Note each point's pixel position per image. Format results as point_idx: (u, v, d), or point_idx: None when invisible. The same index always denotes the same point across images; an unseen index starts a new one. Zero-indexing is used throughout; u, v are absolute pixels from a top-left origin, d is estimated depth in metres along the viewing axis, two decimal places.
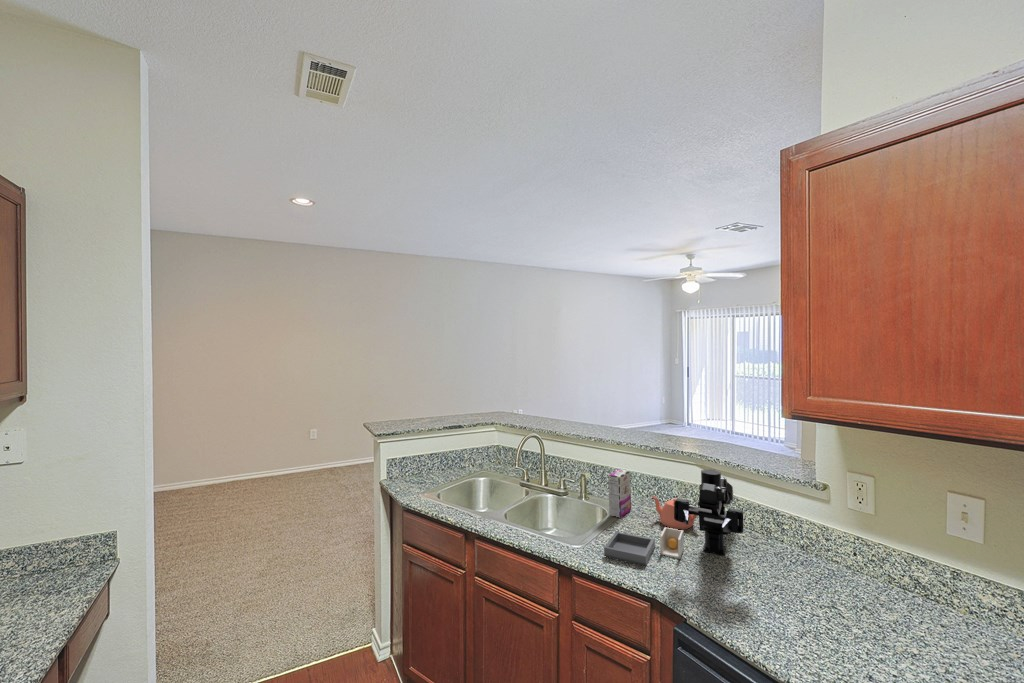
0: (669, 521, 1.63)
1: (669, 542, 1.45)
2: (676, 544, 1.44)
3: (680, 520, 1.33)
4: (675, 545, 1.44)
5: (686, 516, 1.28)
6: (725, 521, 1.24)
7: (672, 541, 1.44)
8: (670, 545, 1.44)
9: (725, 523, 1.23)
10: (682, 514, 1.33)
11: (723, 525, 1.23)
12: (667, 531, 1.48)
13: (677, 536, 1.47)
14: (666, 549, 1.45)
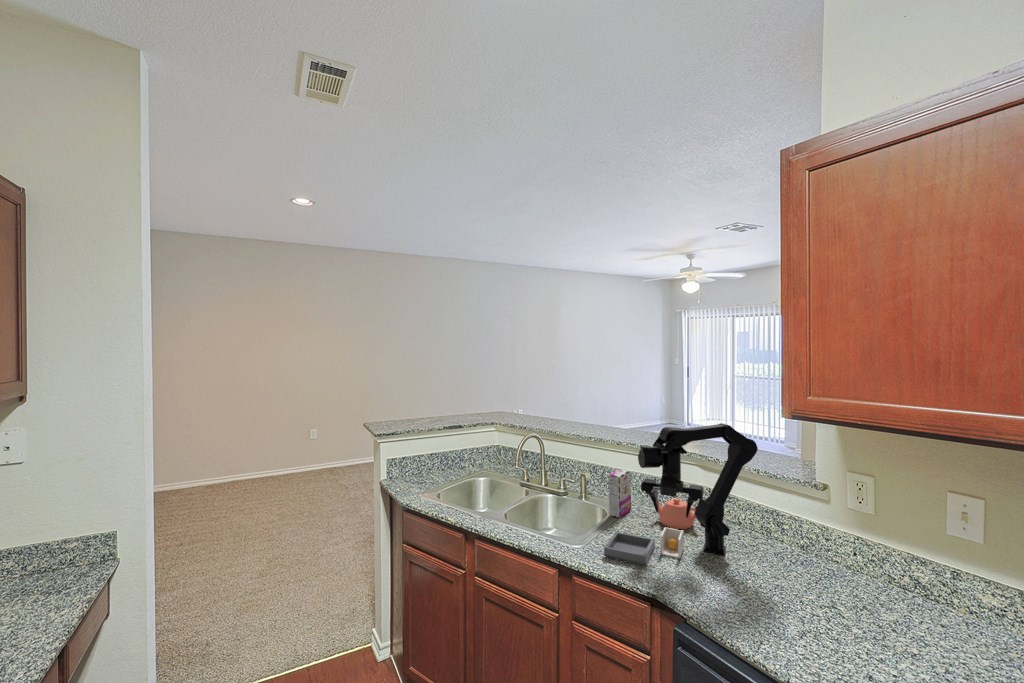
0: (669, 521, 1.63)
1: (669, 544, 1.44)
2: (676, 545, 1.44)
3: None
4: (675, 546, 1.43)
5: (655, 506, 1.46)
6: (688, 508, 1.41)
7: (672, 542, 1.44)
8: (670, 546, 1.44)
9: (688, 511, 1.41)
10: None
11: (687, 514, 1.42)
12: (667, 531, 1.48)
13: (677, 536, 1.47)
14: (666, 549, 1.45)
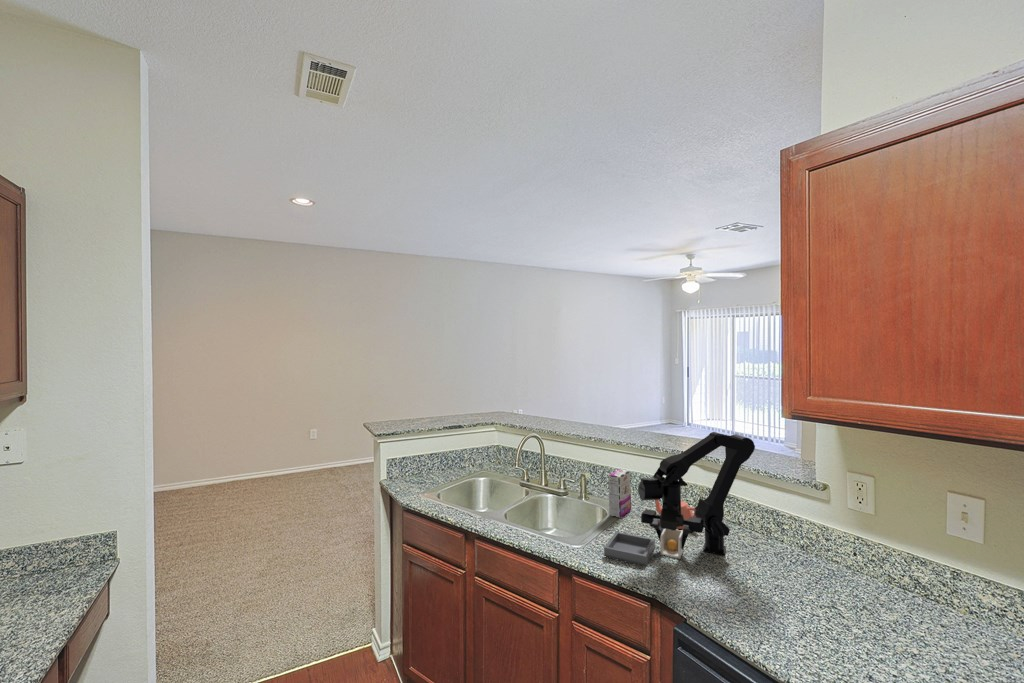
0: None
1: (668, 547, 1.44)
2: (675, 547, 1.43)
3: None
4: (675, 549, 1.43)
5: None
6: (683, 540, 1.42)
7: (671, 546, 1.43)
8: (670, 549, 1.44)
9: (683, 543, 1.42)
10: None
11: (682, 546, 1.42)
12: (667, 531, 1.48)
13: (677, 536, 1.47)
14: (666, 549, 1.45)
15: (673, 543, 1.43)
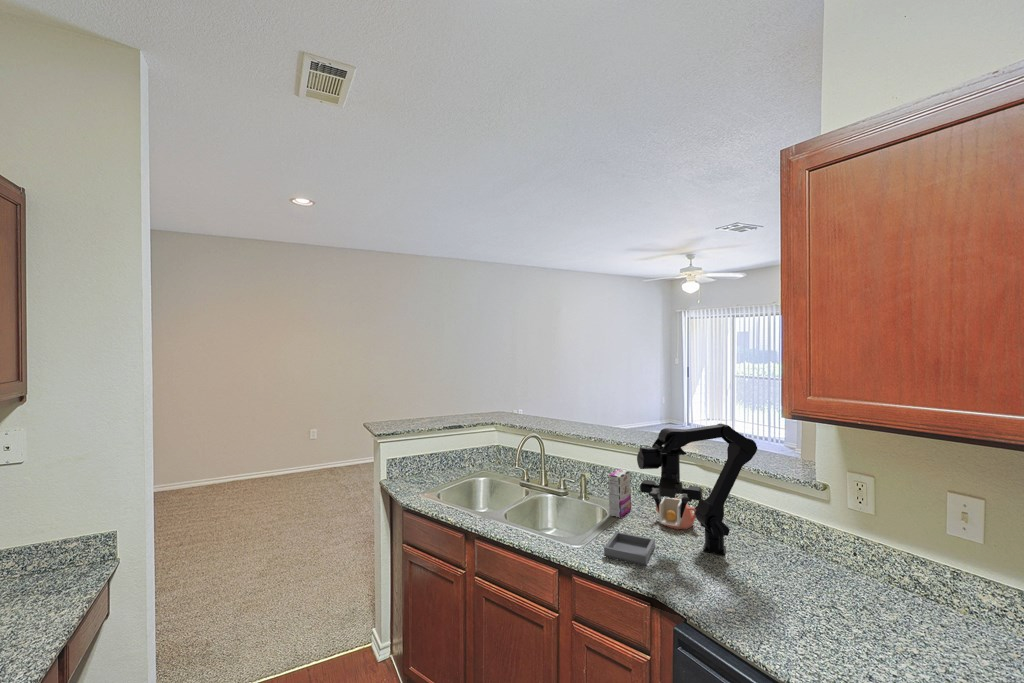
0: None
1: (667, 518, 1.43)
2: (674, 519, 1.42)
3: None
4: None
5: None
6: (682, 508, 1.42)
7: (670, 520, 1.42)
8: None
9: (682, 511, 1.42)
10: None
11: (681, 514, 1.42)
12: (666, 501, 1.49)
13: (676, 506, 1.47)
14: (665, 518, 1.45)
15: (672, 518, 1.42)
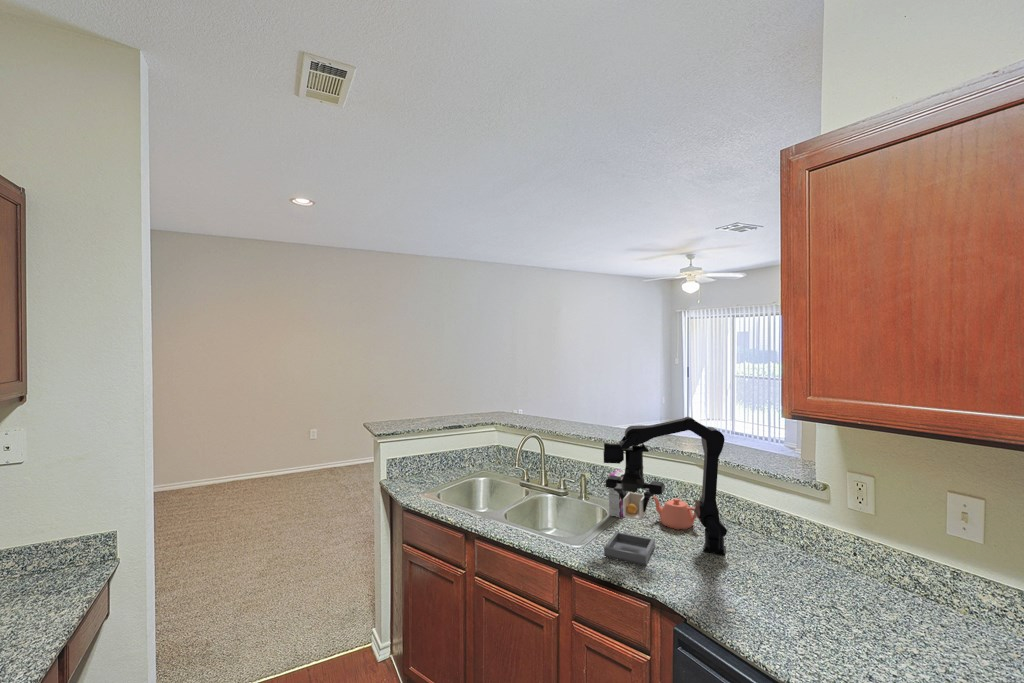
0: (669, 521, 1.63)
1: None
2: (636, 510, 1.49)
3: None
4: None
5: None
6: (644, 503, 1.47)
7: (632, 512, 1.48)
8: None
9: (645, 505, 1.48)
10: None
11: (644, 508, 1.48)
12: (631, 496, 1.54)
13: (640, 500, 1.53)
14: None
15: (632, 509, 1.48)
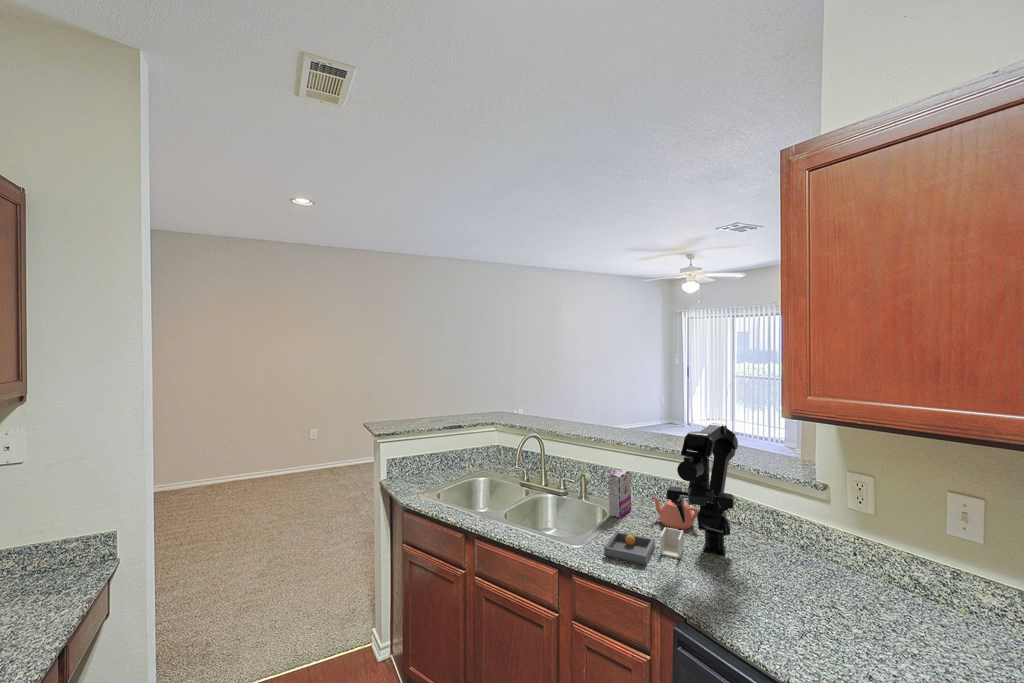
0: (669, 521, 1.63)
1: None
2: (634, 540, 1.47)
3: None
4: (634, 539, 1.47)
5: (682, 516, 1.37)
6: (717, 518, 1.32)
7: None
8: None
9: (718, 521, 1.33)
10: None
11: (716, 524, 1.33)
12: (667, 531, 1.48)
13: (677, 536, 1.47)
14: (666, 549, 1.44)
15: None
